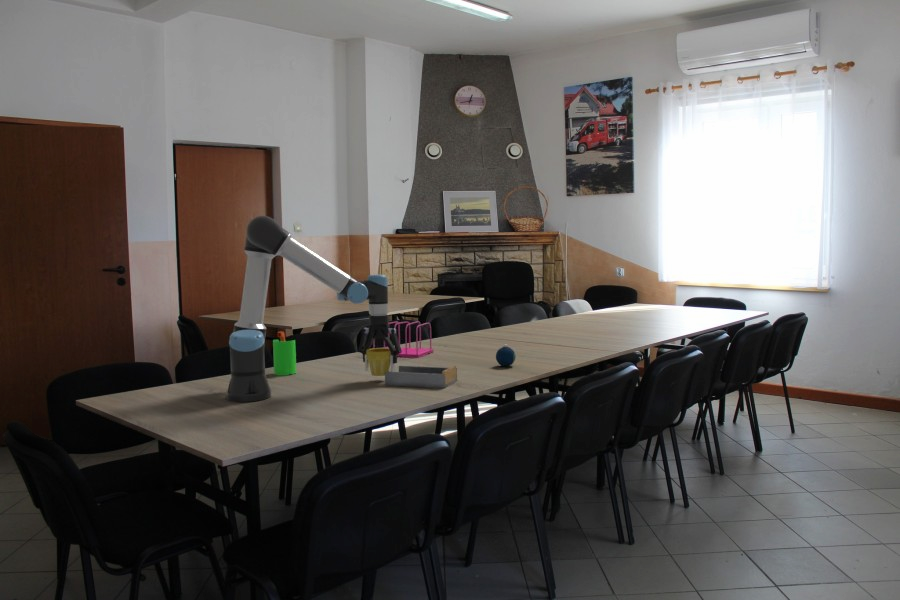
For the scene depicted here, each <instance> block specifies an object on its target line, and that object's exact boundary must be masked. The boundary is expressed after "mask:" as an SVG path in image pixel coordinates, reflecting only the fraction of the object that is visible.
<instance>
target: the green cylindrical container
mask: <svg viewBox="0 0 900 600" xmlns="http://www.w3.org/2000/svg"><path fill="white" fill-rule="evenodd" d="M285 336H286V335H285V332H284V331H278V332H277V337H278V338H280V340H279V339H273V340H272V348H273V349H272V350H273V351H272V352H273V353H272V354H273V375H274V374H277V375H276V376H290V375H289V374H293V375H295V374H294V373H296V374H297V358H296V357H297V351H296V339H294V340H293V339H292V340H286V337H285Z"/></svg>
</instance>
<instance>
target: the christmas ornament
mask: <svg viewBox="0 0 900 600" xmlns="http://www.w3.org/2000/svg"><path fill="white" fill-rule="evenodd" d="M495 359H496V362H497V364H499V365H500V366H502V367H509V366H512V365H513V364H514V362H516V361H515V360H516V353H515V351H514V349H513V348H511V347H509V345H508V344H506V343H505V344H503V345H502V347H500V348H499V349H498V350H497V352H496V354H495Z"/></svg>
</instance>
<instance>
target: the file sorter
mask: <svg viewBox="0 0 900 600" xmlns="http://www.w3.org/2000/svg"><path fill="white" fill-rule="evenodd" d="M405 323H406V326H405V331H404V332H405V334H404V335H405V336H404V337H405V341H404V343H405V347H403V346H402V347H401V346H400V347H401V350H402V352H401V353H399V354H398V355H397V356H401V357H400V358H410V357H419V358H422V357H424V356H423V355H425V354H427V355H429V354H428V353H430V354H432V353H434V348H432V326H431V323H430V322H425V323H422V324H421V322H420V321H419V320H418V321H413V322H409V321H401V322H399V321H398V320H396V321H392V322H389V325H388V326H389V327H390V325H391V324H394V328H396V329H397V328H398V329H397V330H398V331H397V333H398V341H399V344H400V345H401V332H400V331H401V329H400V327H401V325H402V324H405ZM400 324H401V325H400ZM414 324H418V325H417V326H416V330H415V334H416V335H415V336H416V337H415V338H416V339H415V345H416V347H411V325H414ZM397 325H398V327H397ZM425 325H429V347H430V348H422V326H425ZM394 328H393V329H394ZM418 329H419V342H418ZM407 332H408V334H407ZM388 336H389V337H391V334H390V332H388ZM407 336H408V337H407ZM375 341H376V339H375V340H374V341H373V343H372V345H373V347H372V349H373V348H375V347H376V345H375V343H376V342H375ZM407 344H408V345H407ZM418 344H419V345H418ZM418 346H419V347H418ZM383 348H388V346H387V347H386V343H385V341H384V340H383ZM431 352H432V353H431ZM421 356H422V357H421ZM425 356H426V355H425Z"/></svg>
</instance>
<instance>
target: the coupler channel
mask: <svg viewBox="0 0 900 600" xmlns="http://www.w3.org/2000/svg"><path fill="white" fill-rule="evenodd" d="M457 382H458V368H457V366H456V365H452V366H449V367H443V366H442V367H441V366H440V367H439V366H421V365H420V366H418V365H417V366H416V365H415V366H414V365H399V366H398V371H395V372H391V371H389V372H387V371H386V372H385V376H384V385H385V386H397V387H398V386H400V387H414V388H417V387H420V388H434V389H435V388H437V389H446V388H448V387H449V386H451V385H453V384H454V383H457Z"/></svg>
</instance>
